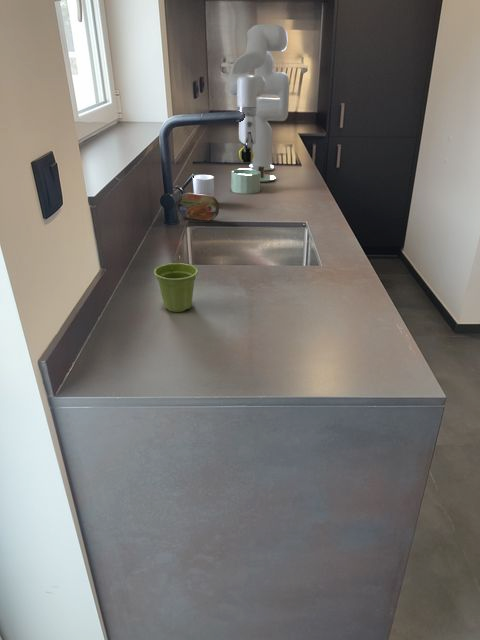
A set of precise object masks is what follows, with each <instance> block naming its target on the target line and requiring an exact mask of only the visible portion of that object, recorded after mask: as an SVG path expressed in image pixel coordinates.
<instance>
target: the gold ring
mask: <svg viewBox="0 0 480 640" xmlns="http://www.w3.org/2000/svg"><path fill="white" fill-rule="evenodd" d="M243 149H244V146H243V148H242V147H241V148H240V150H239V151H238V157H239V160H240V161H241V160H242V159H241V151H242V150H243ZM253 157H254V152H253V150H252V148H251V162H252V159H253ZM241 162H243V160H242V161H241Z"/></svg>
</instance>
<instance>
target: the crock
mask: <svg viewBox="0 0 480 640" xmlns="http://www.w3.org/2000/svg"><path fill="white" fill-rule="evenodd" d="M260 178H261V172H260V171H258V170H253V169H250V168H236V169H232V170H231V171H230V191H231V192H233V193H236V194H242V195H252V194H253V195H254V194H258V193H260V191H261V182H260Z"/></svg>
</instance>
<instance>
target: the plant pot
mask: <svg viewBox="0 0 480 640" xmlns="http://www.w3.org/2000/svg"><path fill="white" fill-rule="evenodd" d="M198 272H199V270H198V268H197V267H196V266H194V265H192V264H188V263H182V262H181V263H179V262H172V263H167V264H162V265H159V266H157V267H155V269H154V270H153V275H154V276H155V277H156V280H157V281H158V285H159V289H160V294H161V297H162V302H163V306H164V307H163V308H164V309H167V310H168V311H170V312H173V313H178V312H179V313H180V312H185V311H186V310H189V309H191V308H192V306H193V296H194V286H195V280H196V276H197V275H198Z"/></svg>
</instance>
